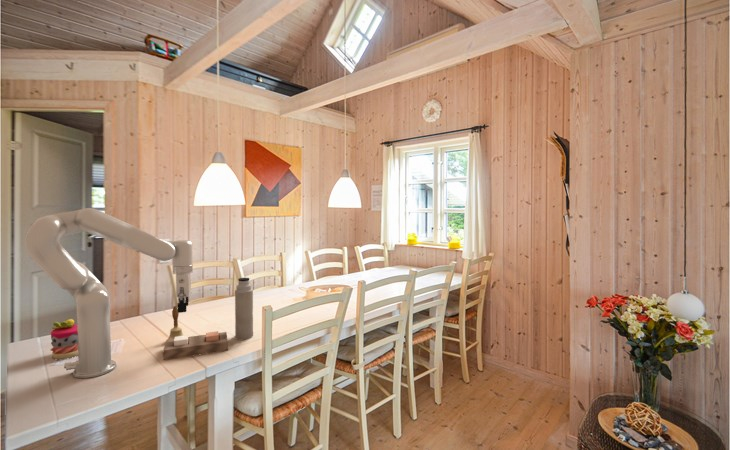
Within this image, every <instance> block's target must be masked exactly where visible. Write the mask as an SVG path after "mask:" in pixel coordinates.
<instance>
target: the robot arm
mask: <svg viewBox="0 0 730 450" xmlns="http://www.w3.org/2000/svg"><path fill="white" fill-rule="evenodd" d="M83 232H88V233H89V234H92V235H94V236H97V237H99V238H103V239H105V240H108V241H109V242H112V243H113V244H116V245H117V244H118V245H120V246H122V247H124V248H128V249H131V250H133V251H136V252H138V253H141V254H143V255H146V256H149V257H150V258H154V259H156V260H157V261H162V262H167V261H170V260H172V274H173V275H175V292H176V293H175V294H176V298H177V309H178V313H179V314H181V313H186V312H187V307H188V306H189V297H190V296H191V294H192V288H191V287H192V285H191V284H192V283H191V274H192V273H193V243H192V241H191V240H187V239H181V240H174V241H173V240H164V239H161V238H159V237H156V236H155V235H152V234H150V233H147V232H146V231H144V230H142V229H140V228H138V227H137V226H135V225H133V224H130V223H128V222H125V221H123V220H121V219H119V218H117V217H115V216H113V215H110V214H108V213H106V212H103V211H102V210H99V209H96V208H93V207H91V208H90V207H87V208H82V209H81V208H80V209H76V210H71V211H67V212H60V213H55V214H48V215H45V216H41V217H39V218H37V219H36V220H35V221H34V222H33V223H32V225H31V226H30V227H29V229H28V231H27V233H26V235H25V240H24V245H25V246H24V247H25V249H26V252H27V253H28V255H29V256H30V258H31V259H32V260H33V261H34V262H35V263H36V264H37V266H39V267H40V268H41V270H43V271H44V273H45V274H47V275H48V277H49V278H51V279H50V280H52V281H53V282H54V283H55V284H56V285H57V287H59V288H60V289H62V290H65V291H66V292H67V293H69V295H70V296H72V297H73V299H74V300H75V301H76V325H77V331H78V356H77V357H78V358H77V359H78V360H76V361H74V362H72V361H70V362H65V363H64V364H63V365H64V366H63V369H65V370H66V371H70V370H71V371H72V370H73V373H72V374H73V377H74V378H77V379H87V378H88V379H89V378H90V379H91V378H95V377H98V376H102V375H105V374H107V373H109V372H111V371H113V370H114V369H115V368H116V367H117V362H116V360H112V346H111V344H112V342H111V341H112V340H111V339H112V337H111V297H110V293H109V291H108V290H107V287H106V286H105V285H104V284H103V283H102V282H101V281H100V280H99V279H98V278H97V277H96V276H95V275H94V274H93V273H92V272H91V271H90V270H89V268H88V267H87V266H86V265H85V264H84V263H82V262H80V261H77V260H76V259H75V258H74V257H73V256H71V255H70V253H69V252H68V251H67V250H66V249H65V248H64V247H63V246H62V244H61V238H62V237H64V236H65V237H66V236H70V235H76V234H80V233H83Z"/></svg>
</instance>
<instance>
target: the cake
mask: <svg viewBox="0 0 730 450" xmlns="http://www.w3.org/2000/svg"><path fill="white" fill-rule="evenodd" d="M52 325H53V327H51V329H52V330H51V332H50V339H51V343H50V344H51V346H52V347H51V349H50V351H52V353H51V355H52V359H53V358H54V359H53V360H55V359H63V360H68V359H67V358H69V359H73V358H76V357H78V331H77V324H75V320H74V319H73V318H70V319H66V320H65V321H61V322H58V321H55V322H53V324H52ZM75 356H76V357H75ZM72 357H73V358H72Z"/></svg>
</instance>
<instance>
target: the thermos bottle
mask: <svg viewBox="0 0 730 450" xmlns="http://www.w3.org/2000/svg"><path fill="white" fill-rule="evenodd" d="M253 313H254V290H253V287H252V284H250V278H249V277H239V278H238V284H237V285H236V289H235V291H234V314H235V315H234V316H235V317H234V318H235V319H234V320H235V323H234V324H235V325H234V327H235V333H234V334H235V336H234V338H236V340H248V339H251V338H253V336H254V314H253Z"/></svg>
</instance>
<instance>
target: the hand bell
mask: <svg viewBox="0 0 730 450" xmlns="http://www.w3.org/2000/svg"><path fill="white" fill-rule="evenodd" d="M179 314H180V313H178V305H174V306H173V308H172V312H171V315H172V319H173V327H172V328H171V329H170V332H169V336H168V338H167V339H166V340H168V339H175V337H177V336H185V335H184V334H183V331H182V327H181V326H179V323H178V321H179V320H178V318H179Z"/></svg>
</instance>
